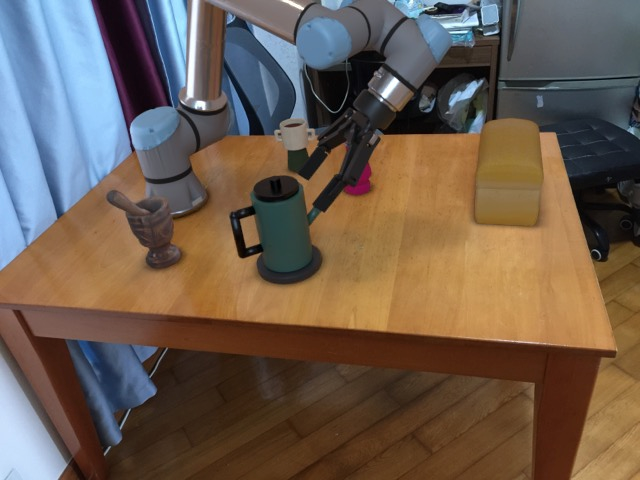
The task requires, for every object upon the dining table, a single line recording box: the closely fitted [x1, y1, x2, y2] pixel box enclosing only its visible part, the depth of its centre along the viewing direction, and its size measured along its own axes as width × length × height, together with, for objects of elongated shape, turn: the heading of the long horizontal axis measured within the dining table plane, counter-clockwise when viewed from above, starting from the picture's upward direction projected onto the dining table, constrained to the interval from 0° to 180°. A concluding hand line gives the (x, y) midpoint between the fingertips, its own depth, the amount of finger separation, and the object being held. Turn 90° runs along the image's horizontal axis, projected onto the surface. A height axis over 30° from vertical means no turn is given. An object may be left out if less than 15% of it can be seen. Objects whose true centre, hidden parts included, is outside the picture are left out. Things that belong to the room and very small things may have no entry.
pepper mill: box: [342, 141, 372, 196], centre depth 129 cm, size 7×7×20 cm
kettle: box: [228, 174, 322, 272], centre depth 104 cm, size 19×10×18 cm, turn 114°
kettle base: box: [256, 243, 322, 285], centre depth 110 cm, size 13×13×2 cm
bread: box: [473, 117, 545, 227], centre depth 119 cm, size 24×13×15 cm, turn 164°
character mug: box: [273, 117, 317, 173], centre depth 144 cm, size 11×7×13 cm, turn 80°
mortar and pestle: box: [105, 189, 182, 270], centre depth 110 cm, size 12×9×20 cm
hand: (309, 192), depth 103 cm, fingers open, 13 cm apart
